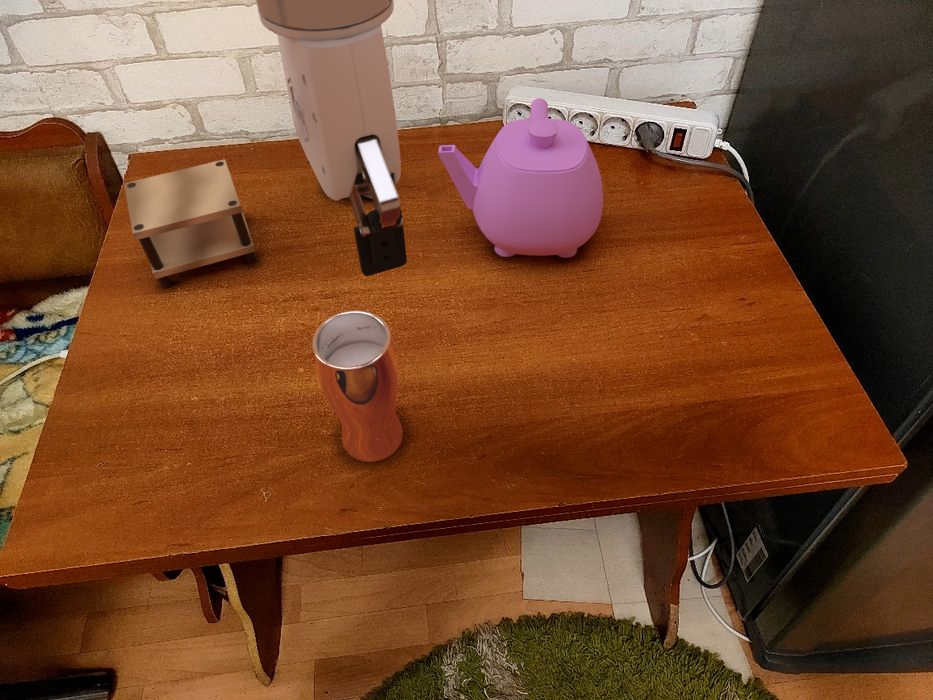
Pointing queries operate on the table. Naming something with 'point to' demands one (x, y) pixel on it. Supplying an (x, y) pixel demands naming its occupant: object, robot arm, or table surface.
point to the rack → (188, 219)
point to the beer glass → (360, 382)
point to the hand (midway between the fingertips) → (363, 226)
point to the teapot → (532, 186)
